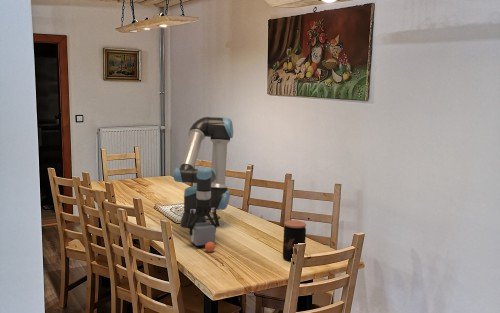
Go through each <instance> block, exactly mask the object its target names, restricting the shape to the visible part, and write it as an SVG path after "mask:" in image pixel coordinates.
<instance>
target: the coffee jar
mask: <svg viewBox="0 0 500 313" xmlns="http://www.w3.org/2000/svg"><path fill="white" fill-rule="evenodd" d="M283 225H284V226H283V240H282V241H283V242H282V243H283V244H282V258H283V260H285V261H286V262H289V263H292V262H291V258H292V254H293V247H294V244H298V243H305V244H306V238H307V237H306V233H307V228H306V227H307V222H305V221H302V220H295V219H291V220H285V221H284V222H283Z"/></svg>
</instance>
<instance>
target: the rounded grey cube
mask: <svg viewBox="0 0 500 313" xmlns="http://www.w3.org/2000/svg"><path fill="white" fill-rule="evenodd" d="M193 229H194V242H192V244H194V245H195V246H196V247H197V246H198V247H199V246H205V245H206V243H208V242H213V243H214V244H216V233H215V230H216V231H217V228H216V227H215V226H213V225H212V224H211V222H210V221H206V222H204V223H196V224H195V226H194V228H193ZM189 237H190V238H189V241H191V236H190V235H189Z"/></svg>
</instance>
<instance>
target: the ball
mask: <svg viewBox="0 0 500 313" xmlns="http://www.w3.org/2000/svg"><path fill="white" fill-rule="evenodd" d="M215 244H216V243H215ZM215 244H214V243H213V242H208V243H206V245H204V249H205V251H207V252H208V253H212V252H214V250H216V245H215Z"/></svg>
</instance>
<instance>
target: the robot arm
mask: <svg viewBox="0 0 500 313" xmlns="http://www.w3.org/2000/svg"><path fill="white" fill-rule="evenodd" d="M187 135H188V140H187V144H186V146H185V150H184V153H183V157H182V160H181V163H180V167H175V168H174V170H173V181H175V182H177V183H185V184H187V183H189V184H191V183H192V184H196V185H192V186H187V187H185V189H184V194H183V214H182V217H181V220H180V226H181V227H183V228H187V229H188V230H189V231H188V232H189V233H188V234H189V237H190V236H191V240H190V242H192V243H193V242H194V229H193V228H194V226H195V224H196V223H204V222H207V219H208V220H209V223H211V224H212V225H213V226H215V227H216V230H215V234H216V233H217V228H218V227H219V226H220V221H219V218H218V214H217V211H220V210H221V211H222V210H226V209H227V208H228V205H229V201H230V196H231V191H230V190H229V189H228V186H227V185H226V172H227V158H228V157H227V156H228V154H227V153H228V144H229V143H230V142H231V139H233V137H234V125H233V121H232V119H231V118H229V117H228V118H227V117H217V116H216V117H215V116H214V117H213V116H211V117H209V116H204V117H201V118H199V119H197V120H196V121H195V122H194V123H193V124H192V125H191V127H190V128H189V131H188V134H187ZM207 137H208V138H210V142H211V143H212V152H211V167H210V168H208V167H207V168H206V167H204V168H202V167H201V168H198V169H197V168H195V167H196V163H197V159H198V156H199V152H200V148H201V145H202V142H203V141H204V140H205V138H207ZM211 212H212V214H213V218H212V216H211V214H210V213H211ZM206 217H207V219H206ZM213 219H214V220H213Z"/></svg>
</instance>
